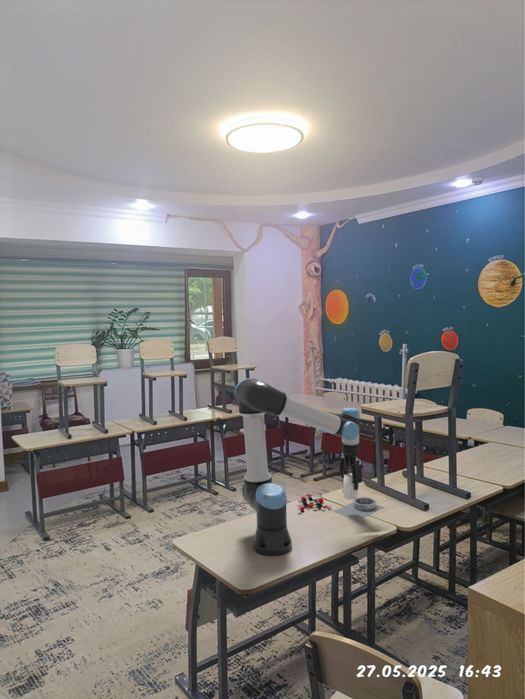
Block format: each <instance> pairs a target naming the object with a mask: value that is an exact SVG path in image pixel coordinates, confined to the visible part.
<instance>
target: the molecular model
mask: <svg viewBox="0 0 525 699" xmlns="http://www.w3.org/2000/svg"><path fill="white" fill-rule="evenodd" d="M312 501H313V502H314V503H316V504H313V503H311V504H309V503H308V502H312ZM297 502H298V504H297V506H296V507H297V508H300V512H302V513H304V512H305V509H306V506H309V509H314V510H316V509H317V508H320V509H321V512H325V510H326V509H331V508H332V506H331V504H328V505H324V504H323V503H324V498H322V497H321V496H319V497H318V496H316V497H315V498H314V499H313V493H312V492H310V493H307V494H306V495H305V496H301V497H300V499H298V500H297ZM299 503H300V504H299ZM301 503H303V506H301Z"/></svg>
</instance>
